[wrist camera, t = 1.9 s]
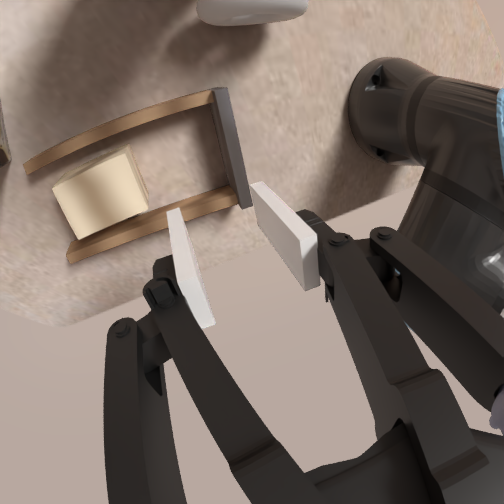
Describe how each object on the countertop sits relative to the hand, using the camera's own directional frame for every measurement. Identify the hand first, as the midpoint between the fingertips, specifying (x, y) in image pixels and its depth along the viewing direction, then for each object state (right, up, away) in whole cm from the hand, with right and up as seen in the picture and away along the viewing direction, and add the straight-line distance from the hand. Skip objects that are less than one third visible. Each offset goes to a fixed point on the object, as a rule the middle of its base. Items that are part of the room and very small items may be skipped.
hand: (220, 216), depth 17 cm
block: (-14, +5, +12) cm, 19 cm away
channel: (-11, +6, +12) cm, 18 cm away
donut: (0, +22, +7) cm, 23 cm away
